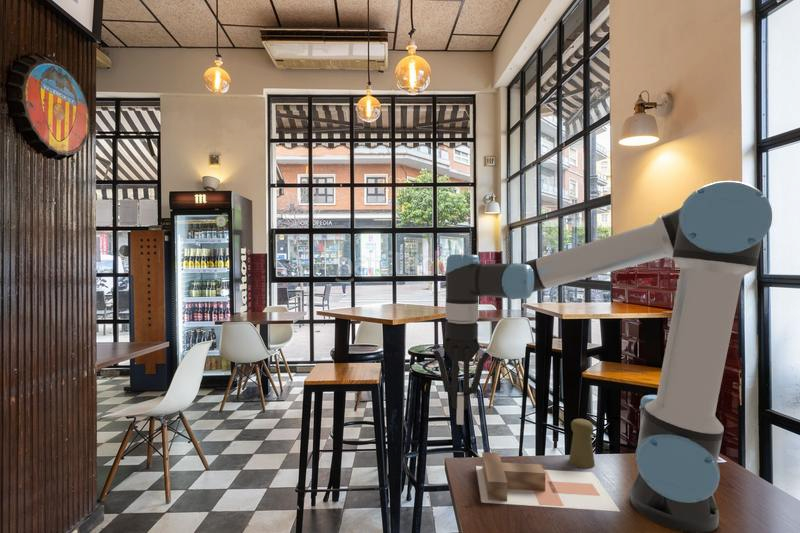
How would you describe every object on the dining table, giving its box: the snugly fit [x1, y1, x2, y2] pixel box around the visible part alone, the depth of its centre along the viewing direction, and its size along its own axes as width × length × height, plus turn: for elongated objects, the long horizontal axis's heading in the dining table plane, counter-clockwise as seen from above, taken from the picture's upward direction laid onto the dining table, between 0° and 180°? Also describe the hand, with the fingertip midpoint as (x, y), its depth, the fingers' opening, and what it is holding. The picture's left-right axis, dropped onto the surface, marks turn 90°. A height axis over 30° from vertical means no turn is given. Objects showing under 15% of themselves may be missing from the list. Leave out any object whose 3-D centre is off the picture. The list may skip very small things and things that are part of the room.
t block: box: [481, 451, 545, 501], centre depth 95 cm, size 13×14×4 cm
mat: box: [475, 465, 621, 513], centre depth 94 cm, size 28×16×1 cm, turn 84°
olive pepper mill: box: [568, 418, 596, 469], centre depth 106 cm, size 6×6×11 cm
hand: (459, 422), depth 96 cm, fingers closed
